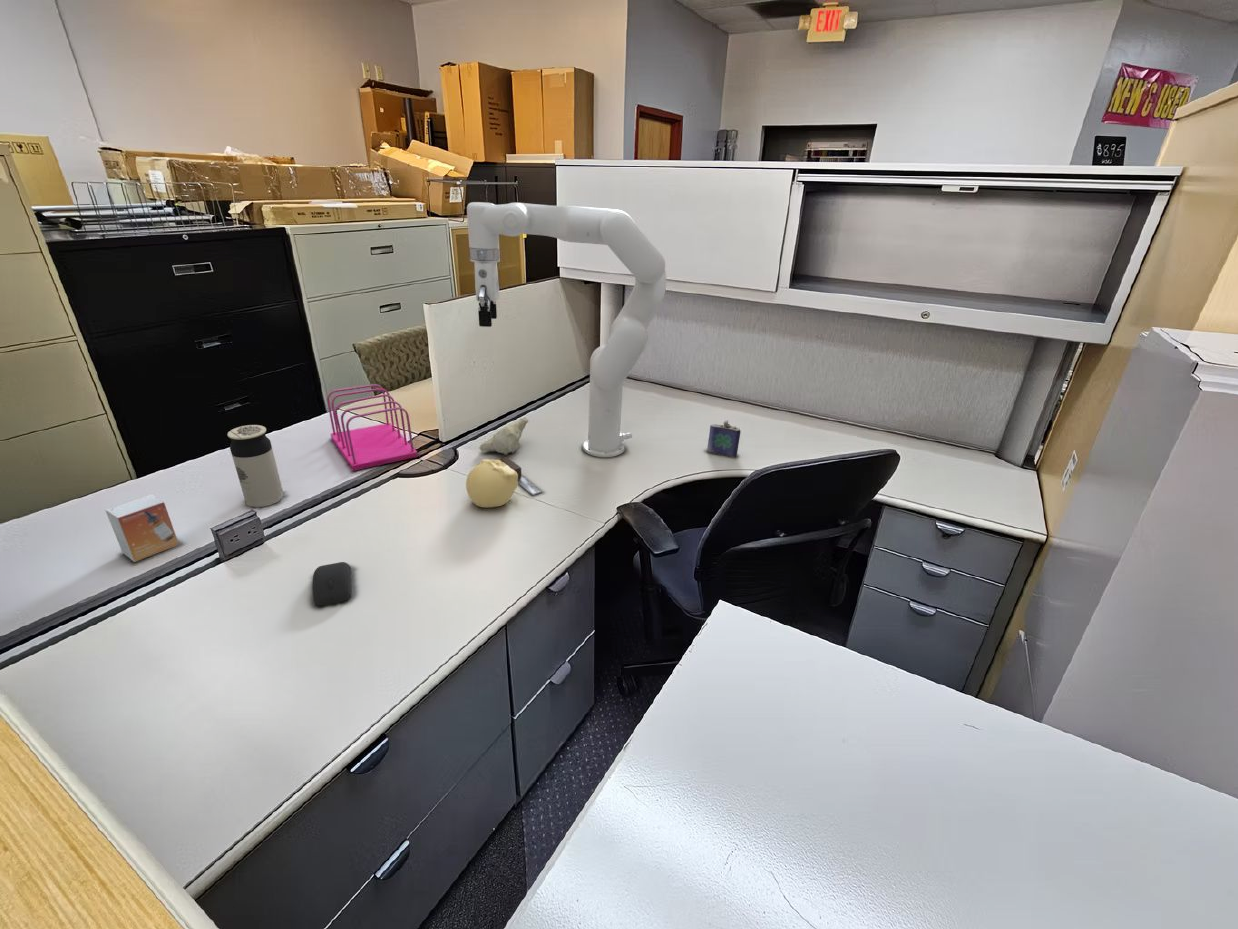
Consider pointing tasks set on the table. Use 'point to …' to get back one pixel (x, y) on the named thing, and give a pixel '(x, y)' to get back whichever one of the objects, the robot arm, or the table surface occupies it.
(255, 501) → the travel mug
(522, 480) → the knife
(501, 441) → the white jagged rock
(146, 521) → the small box
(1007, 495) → the table surface
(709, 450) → the flask
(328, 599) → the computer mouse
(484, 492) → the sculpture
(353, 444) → the file sorter
